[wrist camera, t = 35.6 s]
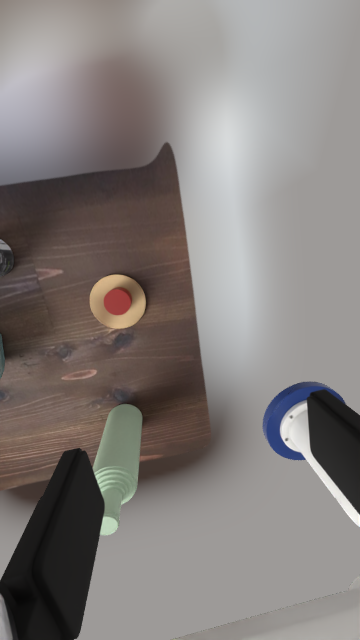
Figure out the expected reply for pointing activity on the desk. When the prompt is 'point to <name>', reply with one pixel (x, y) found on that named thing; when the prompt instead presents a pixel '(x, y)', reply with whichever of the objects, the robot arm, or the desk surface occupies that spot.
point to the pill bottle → (5, 258)
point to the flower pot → (1, 357)
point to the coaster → (134, 311)
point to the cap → (118, 301)
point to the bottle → (118, 462)
